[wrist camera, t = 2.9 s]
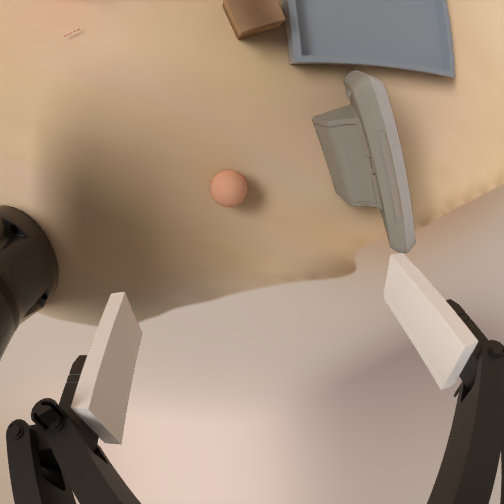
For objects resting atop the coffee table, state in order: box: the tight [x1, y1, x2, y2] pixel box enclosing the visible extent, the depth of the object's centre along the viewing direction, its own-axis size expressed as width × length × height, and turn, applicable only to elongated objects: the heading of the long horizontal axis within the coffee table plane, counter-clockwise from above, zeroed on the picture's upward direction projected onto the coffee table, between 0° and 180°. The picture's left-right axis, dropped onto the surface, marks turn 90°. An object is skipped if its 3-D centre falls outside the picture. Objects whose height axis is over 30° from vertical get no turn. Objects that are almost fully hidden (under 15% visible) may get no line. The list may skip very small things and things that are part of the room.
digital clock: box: [312, 70, 415, 253], centre depth 25 cm, size 16×9×11 cm, turn 11°
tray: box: [282, 0, 455, 78], centre depth 21 cm, size 13×19×2 cm
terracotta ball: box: [210, 170, 248, 207], centre depth 29 cm, size 4×4×4 cm
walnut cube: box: [223, 0, 286, 40], centre depth 21 cm, size 4×4×4 cm
